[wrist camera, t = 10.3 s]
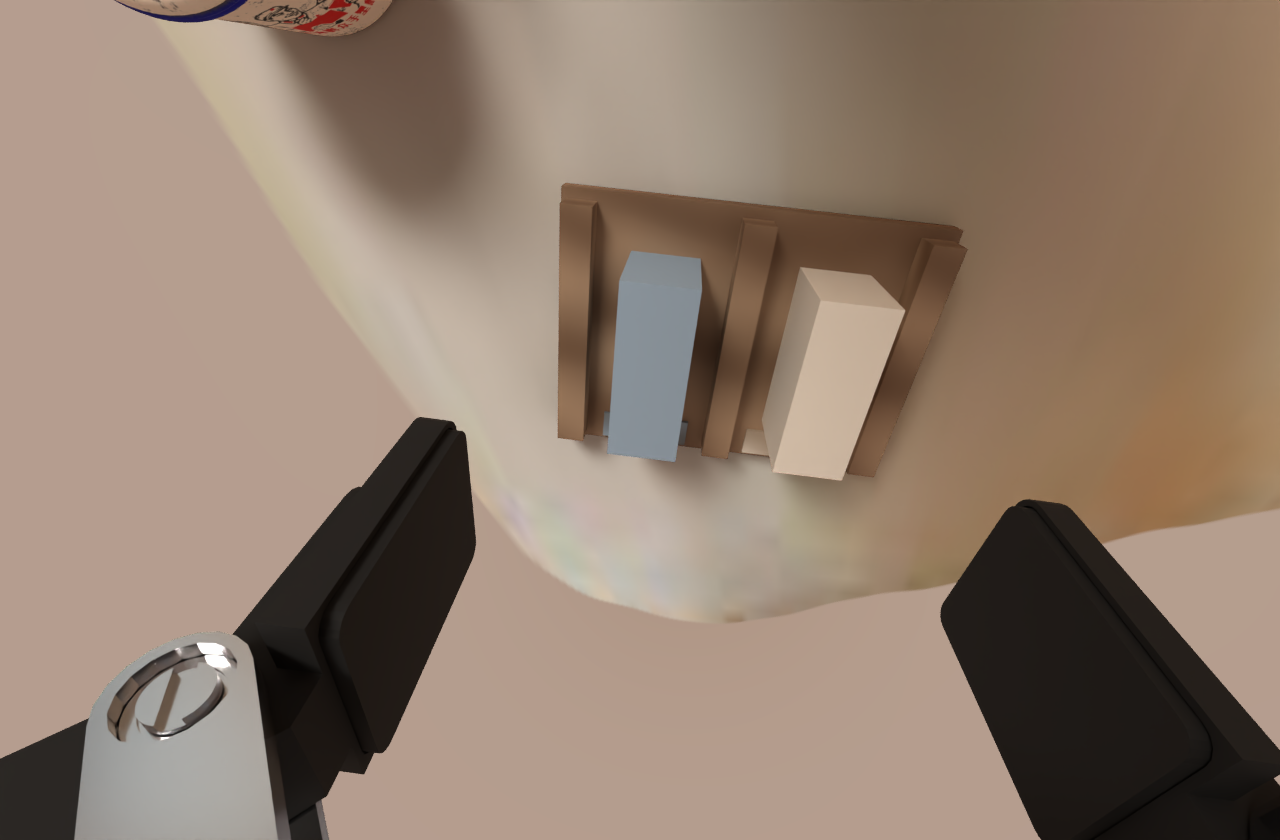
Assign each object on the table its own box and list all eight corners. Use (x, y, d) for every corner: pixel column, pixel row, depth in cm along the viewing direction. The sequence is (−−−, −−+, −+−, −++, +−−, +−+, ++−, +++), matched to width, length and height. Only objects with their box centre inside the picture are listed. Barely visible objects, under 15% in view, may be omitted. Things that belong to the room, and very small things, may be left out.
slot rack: (565, 183, 26) (554, 191, 24) (954, 226, 25) (978, 238, 23) (562, 422, 33) (553, 444, 31) (863, 459, 33) (875, 484, 31)
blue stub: (631, 250, 26) (619, 280, 22) (700, 258, 26) (702, 290, 22) (618, 404, 31) (607, 453, 27) (677, 411, 31) (675, 461, 27)
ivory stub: (800, 267, 26) (820, 300, 22) (870, 275, 26) (905, 310, 22) (761, 420, 31) (772, 472, 27) (821, 427, 31) (841, 480, 27)
